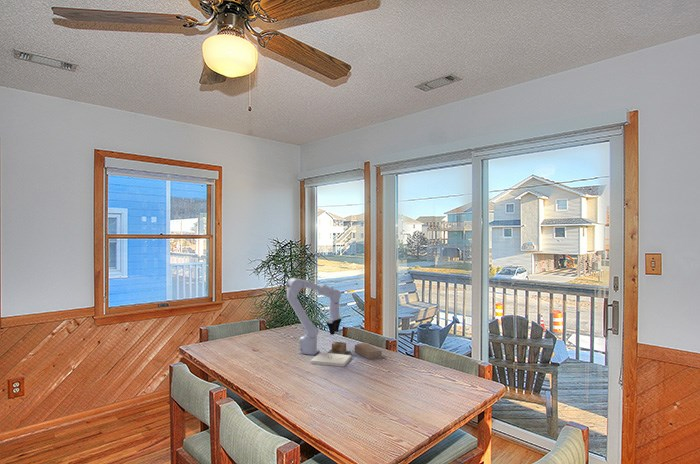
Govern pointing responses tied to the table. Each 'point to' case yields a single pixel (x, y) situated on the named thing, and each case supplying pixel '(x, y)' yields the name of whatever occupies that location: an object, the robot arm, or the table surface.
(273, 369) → the table surface
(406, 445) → the table surface
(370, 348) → the brick
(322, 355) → the board
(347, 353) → the mat
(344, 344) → the block
